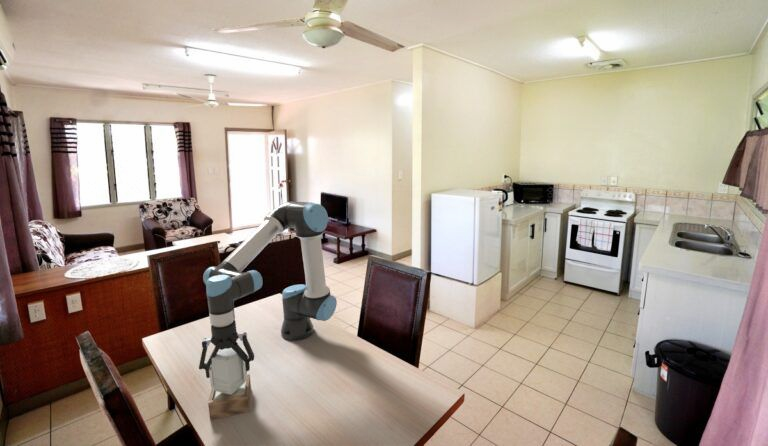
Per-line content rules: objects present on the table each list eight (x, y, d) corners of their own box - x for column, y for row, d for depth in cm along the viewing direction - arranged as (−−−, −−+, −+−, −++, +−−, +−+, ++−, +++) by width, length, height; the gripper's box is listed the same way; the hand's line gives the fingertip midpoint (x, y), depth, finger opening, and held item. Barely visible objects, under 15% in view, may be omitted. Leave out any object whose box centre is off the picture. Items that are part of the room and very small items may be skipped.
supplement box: (246, 382, 126) (243, 349, 123) (231, 395, 119) (227, 361, 116) (229, 377, 128) (225, 345, 125) (213, 391, 121) (209, 357, 119)
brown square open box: (251, 389, 132) (249, 374, 131) (249, 411, 121) (247, 395, 120) (215, 396, 129) (213, 380, 127) (210, 419, 117) (207, 402, 116)
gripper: (259, 312, 125) (264, 369, 130) (187, 321, 119) (195, 381, 123) (258, 322, 118) (263, 382, 123) (182, 332, 112) (191, 395, 116)
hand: (229, 382), depth 123 cm, fingers closed on supplement box, 10 cm apart
